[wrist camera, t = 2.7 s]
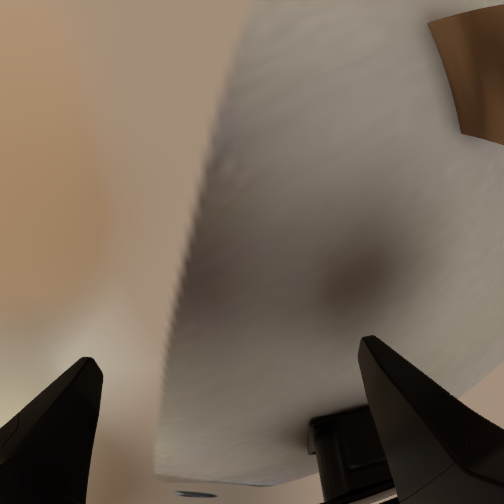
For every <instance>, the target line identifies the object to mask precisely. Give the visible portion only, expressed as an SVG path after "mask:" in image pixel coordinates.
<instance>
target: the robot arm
mask: <svg viewBox="0 0 504 504" xmlns="http://www.w3.org/2000/svg"><path fill="white" fill-rule="evenodd" d="M358 362H359V366H360V370H361V375H362V379H363V383H364V388H365V392H366V397H367V401H368V404H369V408H365V409H361V410H357V411H353V412H349V413H344V414H340V415H335V416H330V417H325V418H320V419H315V420H312V421H310V422H309V430H308V454H309V455H315V454H316V456H317V462H318V468H319V474H320V479H321V486H322V491H323V497H324V503H320V504H371V503H373V502H376V501H379V500H382V499H385V498H387V497H389V496H392V495H394V494H397V496H398V497H395V498H393V499H390V500H388V501H385V502H382V503H380V504H504V429H502V428H500V427H499V426H497V425H496V424H494V423H492V422H490V421H489V420H487V419H485V418H484V417H482V416H481V415H479V414H478V413H476V412H474V411H473V410H471V409H470V408H468V407H467V406H466V405H464V404H463V403H462V402H460V401H459V400H458V399H456V398H455V397H454V396H453V395H450V393H449V392H447V391H446V390H445V389H443V388H442V387H441V386H440V385H438V384H437V383H436V382H434V381H433V380H432V379H431V378H429V377H428V376H427V375H425V374H424V373H423V372H421V371H420V370H419V369H418V368H416V367H415V366H414V365H412V364H411V363H410V362H409V361H407V360H406V359H405V358H403V357H402V356H401V355H399V354H398V353H397V352H396V351H394V350H393V349H392V348H390V347H389V346H388V345H386V344H385V343H384V342H382V341H381V340H380V339H379V338H377V337H376V336H374V335H370V336H366V337H362V338H361V341H360V346H359V352H358ZM102 384H103V373H102V371H101V370H100V368H99V366H98V365H97V363H96V362H95V360H94V359H93V358H91V357H82V358H80V359H79V360H78V361H77V362H76V363H74V364H73V365H72V366H71V367H70V368H69V369H68V370H66V371H65V372H64V373H63V374H62V375H61V376H59V377H58V378H57V379H56V380H55V381H54V382H52V383H51V384H50V385H49V386H48V387H47V388H46V389H45V390H43V391H42V392H41V393H40V394H39V395H38V396H37V397H35V398H34V400H32V401H31V402H30V403H29V404H28V405H26V406H25V407H24V408H23V409H22V410H21V411H20V412H19V413H18V414H16V415H15V416H14V417H13V418H12V419H11V420H10V421H9V422H7V423H6V424H5V425H4V426H3V427H1V428H0V504H86V494H87V485H88V476H89V469H90V462H91V455H92V448H93V443H94V438H95V432H96V427H97V422H98V417H99V410H100V401H101V392H102Z"/></svg>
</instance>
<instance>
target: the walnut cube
mask: <svg viewBox="0 0 504 504" xmlns="http://www.w3.org/2000/svg"><path fill="white" fill-rule="evenodd" d="M428 26H429V28H430V30H431V33H432V35H433V38H434V40H435V43H436V45H437V48H438V51H439V53H440V56H441V59H442V62H443V65H444V68H445V71H446V74H447V77H448V81H449V84H450V87H451V91H452V95H453V99H454V102H455V106H456V111H457V115H458V120H459V124H460V129H461V134H466V135H470V136H474V137H477V138H481V139H485V140H488V141H492V142H495V143H499V144H502V145H504V4H503V5H497V6H492V7H487V8H482V9H477V10H473V11H469V12H465V13H461V14H457V15H453V16H450V17H446V18H443V19H440V20H436V21H433V22H430V23H428Z"/></svg>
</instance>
